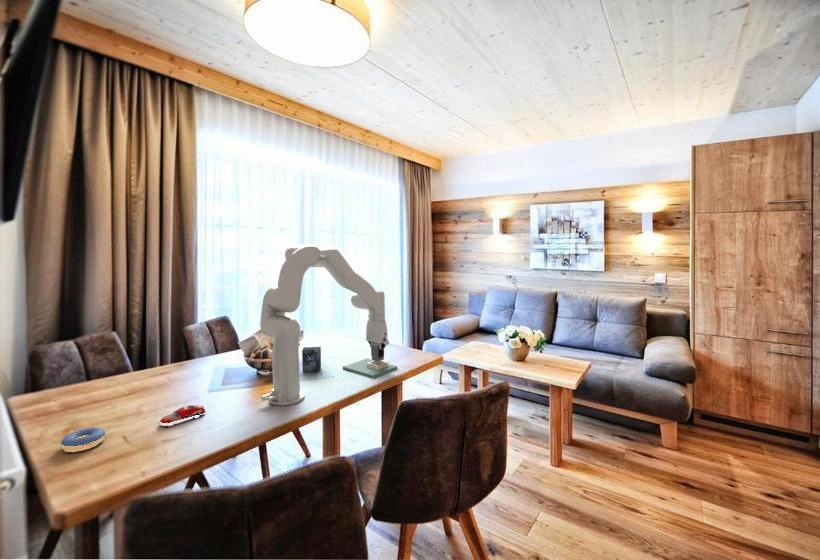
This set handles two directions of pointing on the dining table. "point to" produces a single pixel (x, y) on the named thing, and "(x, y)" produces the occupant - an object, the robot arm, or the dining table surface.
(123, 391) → the dining table surface
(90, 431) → the doughnut
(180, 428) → the dining table surface
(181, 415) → the race car
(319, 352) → the box
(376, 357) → the plug
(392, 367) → the board
